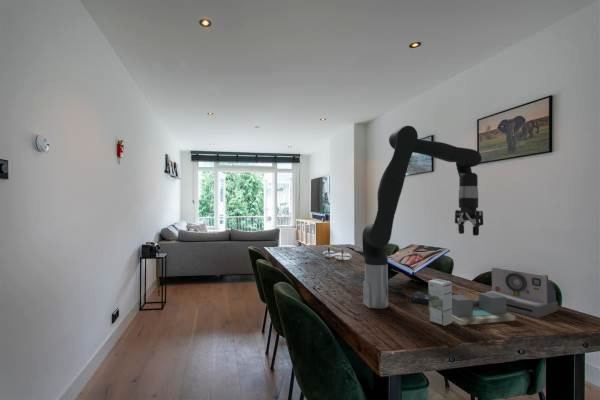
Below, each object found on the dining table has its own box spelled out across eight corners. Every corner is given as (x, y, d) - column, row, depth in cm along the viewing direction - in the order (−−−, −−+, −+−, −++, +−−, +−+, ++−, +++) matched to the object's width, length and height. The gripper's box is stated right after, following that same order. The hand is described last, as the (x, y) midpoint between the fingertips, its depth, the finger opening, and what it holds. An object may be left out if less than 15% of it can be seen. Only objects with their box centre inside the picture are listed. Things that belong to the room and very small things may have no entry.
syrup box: (453, 322, 111) (452, 281, 112) (443, 326, 108) (442, 283, 108) (438, 318, 116) (437, 278, 116) (428, 321, 113) (427, 280, 113)
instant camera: (479, 303, 134) (479, 267, 134) (513, 297, 142) (512, 263, 142) (532, 319, 114) (531, 278, 115) (567, 312, 122) (567, 273, 122)
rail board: (461, 325, 109) (460, 303, 109) (439, 313, 121) (438, 293, 121) (515, 320, 113) (515, 299, 114) (489, 309, 125) (489, 290, 125)
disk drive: (410, 303, 136) (447, 309, 127) (409, 296, 136) (447, 302, 127) (416, 297, 144) (452, 302, 136) (416, 291, 144) (452, 295, 136)
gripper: (449, 197, 145) (449, 233, 144) (472, 196, 131) (472, 236, 130) (464, 197, 146) (464, 233, 146) (488, 196, 132) (488, 236, 132)
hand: (468, 234), depth 138 cm, fingers open, 8 cm apart
